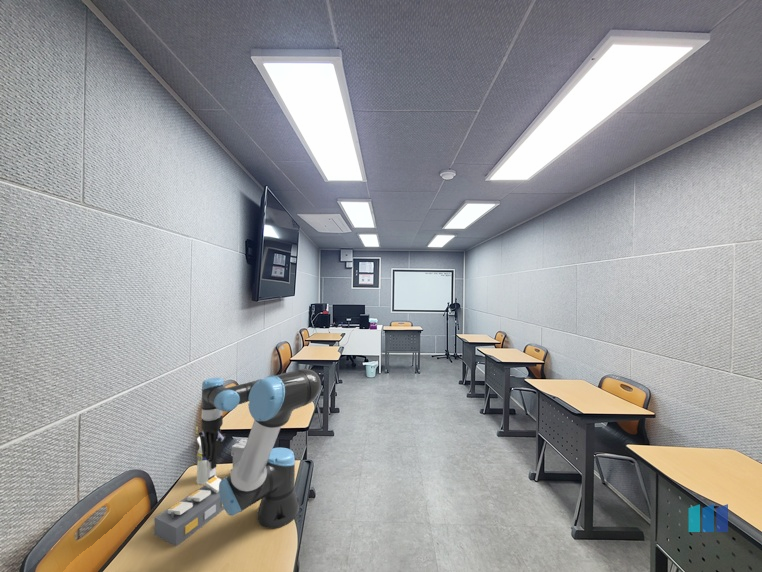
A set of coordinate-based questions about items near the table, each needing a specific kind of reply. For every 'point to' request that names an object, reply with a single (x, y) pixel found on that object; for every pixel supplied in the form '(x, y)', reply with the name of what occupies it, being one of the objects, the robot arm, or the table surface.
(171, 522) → the panel
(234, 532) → the table surface
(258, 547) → the table surface
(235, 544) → the table surface
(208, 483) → the rocker
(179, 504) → the rocker
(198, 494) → the block
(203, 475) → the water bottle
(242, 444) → the circuit breaker
